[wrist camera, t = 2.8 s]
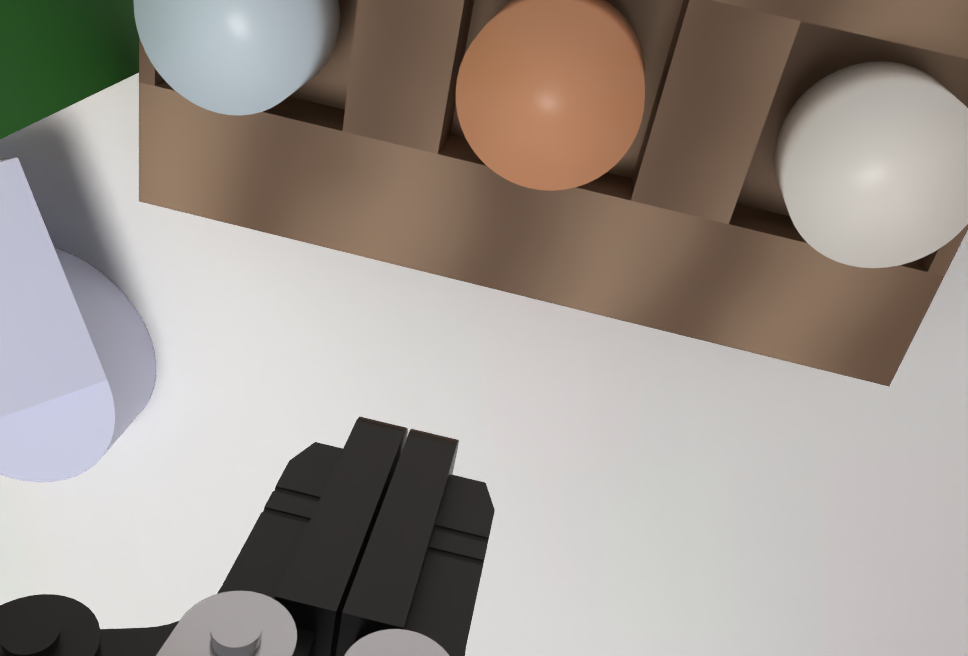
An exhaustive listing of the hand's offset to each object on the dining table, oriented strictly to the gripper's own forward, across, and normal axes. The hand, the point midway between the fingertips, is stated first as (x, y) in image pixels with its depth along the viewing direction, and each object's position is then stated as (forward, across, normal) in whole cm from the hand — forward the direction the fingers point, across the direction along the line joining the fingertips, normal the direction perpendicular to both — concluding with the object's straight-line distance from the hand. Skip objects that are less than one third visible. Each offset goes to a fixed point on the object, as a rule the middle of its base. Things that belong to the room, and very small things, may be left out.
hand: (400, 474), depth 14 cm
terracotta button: (+16, -1, -2) cm, 16 cm away
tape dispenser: (+19, +18, +12) cm, 29 cm away
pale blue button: (+16, +8, -2) cm, 18 cm away
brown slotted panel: (+19, -1, -2) cm, 19 cm away
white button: (+16, -10, -2) cm, 19 cm away
